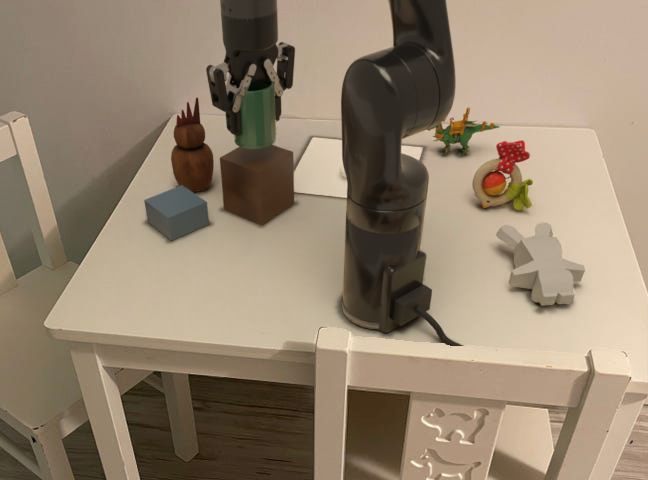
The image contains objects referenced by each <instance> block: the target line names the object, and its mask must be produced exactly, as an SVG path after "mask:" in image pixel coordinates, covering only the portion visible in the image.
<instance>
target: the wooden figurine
mask: <svg viewBox="0 0 648 480" xmlns="http://www.w3.org/2000/svg"><path fill="white" fill-rule="evenodd" d="M180 111H181V113H180V114H181V115H179V114H177V115H176V124H175V125H174V129H173V140H174V141H175V144H176V145H174V147H173V148H172V149H171V155H170V161H171V167H172V173H173V177H174V179H175V181H176V183H177V184H178V186H181V185H183V186H184V187H186V188H187V189H189V190H190V191H192V192H193V193H194V192H201V191H204V190H206V189H208V188H209V187H210V186H211V182H212V180H213V175H214V167H215V165H214V153H213V151H212V148H211V146H209V145H208V144H207V143H206V142H205V140H206V131H205V127H204V126H203V124H202V123H201V114H200V113H201V112H200V101H199V97H195V102H194V107H193V113H192V108H191V106H190V103H189V101H186V114H185V111H184V109H181V110H180ZM180 116H181V117H180Z"/></svg>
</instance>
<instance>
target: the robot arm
mask: <svg viewBox="0 0 648 480" xmlns="http://www.w3.org/2000/svg"><path fill="white" fill-rule="evenodd" d="M387 1H388V5H389V11H390V19H391V26H392V27H391V28H392V46H390V47H388V48H385V49H382V50H381V49H380V50H378V51H374V52H372V53H369V54H366V55H363V56H360V57H359V58H357V59H354V61H352V63H350V65H348V67H347V70H346V71H345V74H344V78H343V81H342V85H341V93H340V117H341V118H340V122H341V123H340V125H341V126H340V127H341V128H340V129H341V140H342V161H343V166H344V171H345V174H346V178H347V198H346V207H345V208H346V210H345V227H344V228H345V229H344V230H345V231H344V257H343V278H342V279H343V281H342V286H343V287H342V298H341V310H342V313H343V315H344V316H345V318H347V320H349V321H350V322H352V323H353V324H355V325H357V326H359V327H362V328H365V329H369V330H379V331H381V332H382V333H383V334H388V333H390V332H391V331H394V330H395V329H397V328H399V327H400V326H404V325H405V324H407V323H409V322H411V321H412V320H414V319H417V317H420V316H421V318H422V319H424V320H425V321H426V322H427V323H428V324H429V326H431V327H432V328H433V330H434V331H435V333H436V334H437V336H438V338H439V339H440V341H441V342H443V343H444V344H445V346H447V345H450V346H464V344H460V343H458V342H456V341H454V340H452V339H451V338H449V337H448V336H447V334H446V333H445V332H444V330H443V328H442V326H441V324H439V322H438V321H437V320H436V319H435V318H434V317H433V316H432V315H430V313H428V311H429V310H430V309H431V302H432V296H433V295H432V294H433V289H432V288H430V287H429V286H427V285H425V284H424V278H425V270H426V263H427V253H426V252H425V251H423V250H421V247H422V240H423V239H422V238H423V230H424V222H425V215H426V206H427V199H428V190H429V181H430V175H429V170H428V168H427V166H426V165H425V164H424V163H423V162H422V161H421V160H420V159H419V160H418V159H416V158H414V157H412V156H409V155H406V154H403V153H401V145H402V143H403V139H404V140H405V139H406V138H408V137H409V138H410V136H414V135H417V134H419V133H422V132H425V131H428V130H427V129H430V128H432V127H434V126H436V125H438V124H440V123H441V124H442V123H443V122H445V121H446V120H447V118H448V116H449V115H450V113H451V111H452V108H453V105H454V102H455V97H456V89H457V87H456V85H457V84H456V83H457V82H456V81H457V79H456V66H455V55H454V48H453V40H452V34H451V33H452V32H451V28H450V27H451V26H450V19H449V12H448V4H447V0H387ZM219 3H220V4H219V5H220V19H221V31H222V43H223V46H224V49H225V56H224V60H223V62H222V63H219V64H217V65H213V64H208V65H207V67H206V69H205V71H206V77H207V82H208V87H209V94H210V99H211V104H212V106H213V107H215V108H216V109H218V110H220V111H222V112H224V113H225V121H226V122H225V123H226V129H227V131H229V132H230V134H232V136H234V135H235V136H239V135H242V125H241V111H239V109H240V106H241V103H242V96H244V95H245V92H246V91H248V89H249V87H251V86H253V85H255V84H256V83H263V82H264V83H267V84H269V85H271V83H272V82H275V96H276V123H277V122H279V121H280V118H281V115H282V96H283V95H284V91H286V90H290V89H292V88H293V85H294V71H295V57H296V48H295V46H294V45H291V44H289V43H287V42H284V41H281V42H279V43H278V40H279V25H278V23H279V22H278V21H279V20H278V0H219ZM277 43H278V45H277ZM275 63H276V69H275V68H274V66H275ZM227 74H228V77H227ZM236 82H237V83H238V84H240V87H239V88H238V87H236ZM232 92H233V93H235V96H234V99H233V98H232ZM444 120H445V121H444Z"/></svg>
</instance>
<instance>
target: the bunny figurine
mask: <svg viewBox="0 0 648 480" xmlns="http://www.w3.org/2000/svg"><path fill="white" fill-rule="evenodd" d="M553 235H554V233H553V228H552V224H550V223H548V222H544V221H543V222H539V223H537V224H536V225H535V226H534V235H532V236H529V237H526V238H525V237H524V236H523V235H522V234H521V233H520V232H519V231H518V230H517V229H516V228H515V227H514V226H512V225H509V224H504V225H501V226H500V228H499V229H498V230H497V232H496V233H495V236H496V238H497V239H498V240H500V241H502V242H503V243H504V244H505V245H507V246H509V247H511V248H512V249H513V264H514V269H512V270H510V271H511V272H510V275H509V279H508V285H509V286H510V287H515V288H522V289H528V290H531V294H530V297H531V300H532V301H533V302H534V303H539V304H540V306H553V305H555V303H556V304H558V305H568V304H569V305H570V304H572V302H573V300H574V297H575V296H576V294H575V292H574V284H576V283H578V282H582V280H583V277H584V274H585V272H586V268H585V265H584V264H581V263H577V262H574V261H572V260H571V261H570V260H568V259H565V258H563V248H562V244H561V242H560V240H559V239H558V237H556V236H553Z"/></svg>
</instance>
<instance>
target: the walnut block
mask: <svg viewBox="0 0 648 480" xmlns="http://www.w3.org/2000/svg"><path fill="white" fill-rule="evenodd" d="M294 164H295V163H294V151H292V150H289V149H287V148H283V147H280V146H277V145H275V144H272V145H270V146H268V147H265V148H261V149H246V148H242V147H240V146H238V147H235V149H232V150H231V151H229V152H227V153H225V154H224V155H222V156H220V157H219V167H220V179H221V190H222V200H223V201H222V202H223V210H224V211H227V212H228V213H231V214H234V215H236V216H239V217H241V218H243V219H246V220H248V221H250V222H253V223H256V224H258V225H260V226H264V225H265V224H267V223H268V222H269V221H271V220H273V219H274V218H275V217H277V216H278V215H280V214H281V213H283V212H284V211H286V210H287V209H289V208H291V207H292V206H293V205H295V192H294V171H295V169H294V168H295V167H294V166H295V165H294Z"/></svg>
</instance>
